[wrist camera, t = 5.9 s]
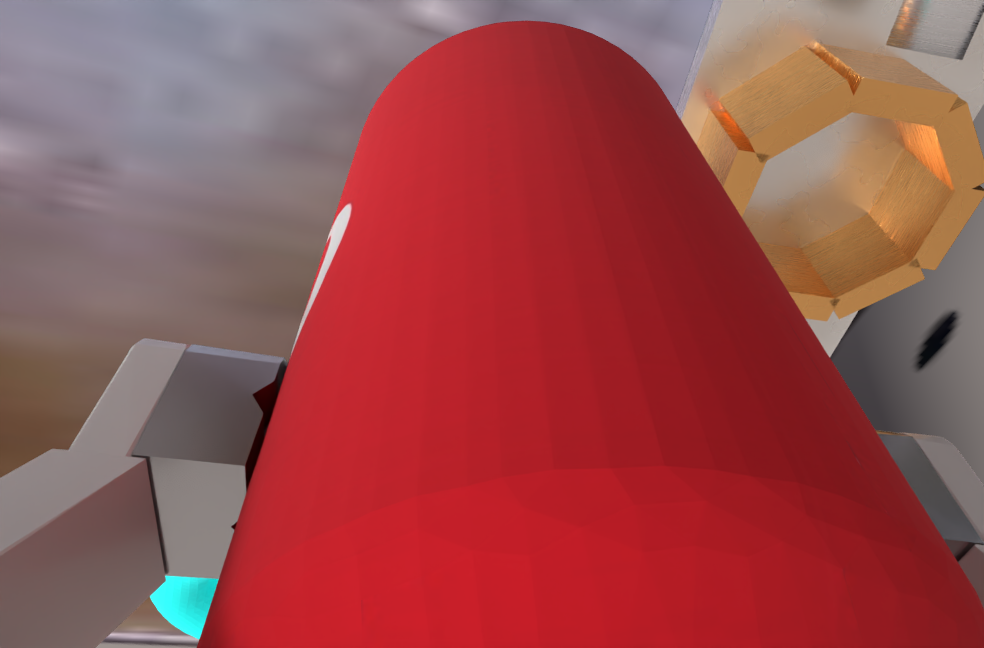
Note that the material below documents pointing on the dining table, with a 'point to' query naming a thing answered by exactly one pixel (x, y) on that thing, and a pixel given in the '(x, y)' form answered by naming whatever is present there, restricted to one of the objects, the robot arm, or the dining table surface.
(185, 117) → the dining table surface
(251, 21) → the dining table surface
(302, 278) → the dining table surface
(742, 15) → the coupling base
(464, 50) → the beverage can
